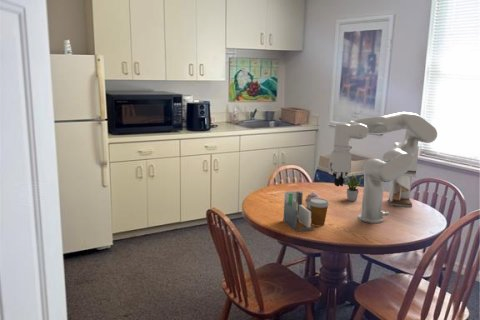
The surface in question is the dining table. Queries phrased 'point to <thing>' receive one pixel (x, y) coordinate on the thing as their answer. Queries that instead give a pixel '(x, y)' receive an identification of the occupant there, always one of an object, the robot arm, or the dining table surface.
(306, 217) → the pale grey flat panel
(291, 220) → the gauge frame
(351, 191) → the house plant
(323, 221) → the disposable coffee cup
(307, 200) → the cupcake
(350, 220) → the dining table surface
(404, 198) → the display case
